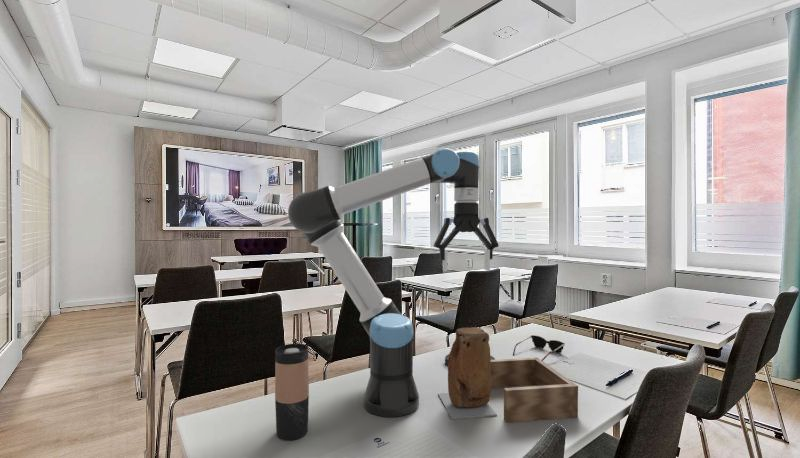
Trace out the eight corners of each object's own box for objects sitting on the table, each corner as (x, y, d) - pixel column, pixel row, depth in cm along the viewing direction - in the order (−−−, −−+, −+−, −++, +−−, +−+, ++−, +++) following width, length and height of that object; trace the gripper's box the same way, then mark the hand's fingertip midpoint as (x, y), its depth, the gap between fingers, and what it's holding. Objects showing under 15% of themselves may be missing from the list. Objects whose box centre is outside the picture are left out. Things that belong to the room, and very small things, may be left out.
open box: (506, 422, 96) (506, 390, 96) (477, 386, 117) (477, 360, 117) (577, 417, 99) (578, 386, 99) (537, 383, 120) (537, 357, 119)
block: (478, 394, 111) (478, 324, 111) (493, 405, 104) (494, 331, 104) (444, 400, 107) (444, 328, 107) (458, 412, 100) (458, 336, 100)
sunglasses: (565, 355, 146) (564, 342, 145) (543, 368, 135) (543, 354, 135) (531, 346, 156) (531, 334, 156) (509, 358, 146) (508, 345, 145)
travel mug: (311, 423, 95) (311, 343, 95) (305, 441, 88) (304, 353, 87) (280, 424, 95) (280, 343, 95) (271, 441, 88) (270, 354, 87)
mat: (451, 419, 98) (451, 417, 98) (438, 394, 111) (438, 393, 111) (496, 415, 99) (496, 414, 99) (478, 392, 113) (478, 390, 113)
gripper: (429, 201, 115) (429, 272, 115) (509, 202, 118) (509, 271, 119) (424, 202, 122) (424, 269, 123) (499, 203, 126) (499, 268, 126)
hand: (466, 270), depth 121 cm, fingers open, 13 cm apart
